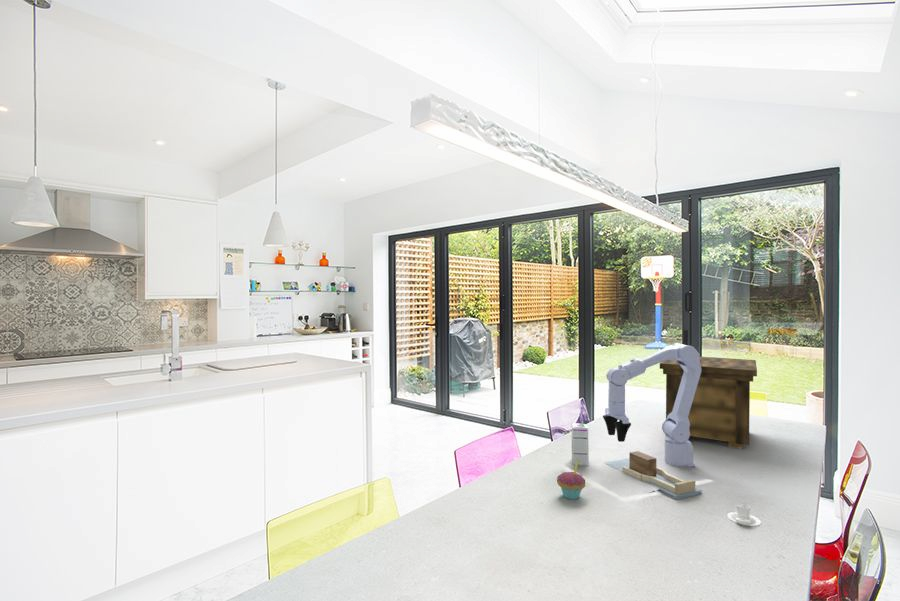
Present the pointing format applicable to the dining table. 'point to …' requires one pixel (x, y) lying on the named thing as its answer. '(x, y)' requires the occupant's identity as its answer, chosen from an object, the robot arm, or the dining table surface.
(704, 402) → the crate
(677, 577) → the dining table surface
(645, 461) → the brown prism
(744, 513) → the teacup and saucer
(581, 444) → the syrup box
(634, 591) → the dining table surface
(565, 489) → the cupcake
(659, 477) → the slide board
